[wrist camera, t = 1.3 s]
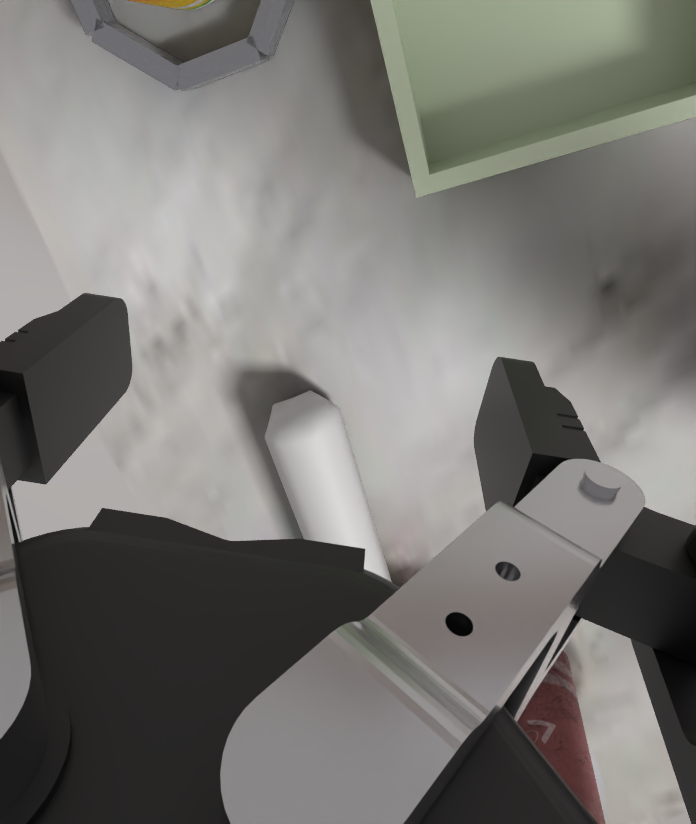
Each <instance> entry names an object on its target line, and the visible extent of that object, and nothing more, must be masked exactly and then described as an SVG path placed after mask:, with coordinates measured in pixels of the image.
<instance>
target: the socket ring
mask: <svg viewBox="0 0 696 824" xmlns="http://www.w3.org/2000/svg"><path fill="white" fill-rule="evenodd" d="M71 2H72V5H73V7H74V9H75V11H76V14H77V16H78V18H79V20H80V22H81V25H82V27H83V29H84V31H85V34H86V35H93V37H92V42H94V43H95V44H97V45H99V46H100V47H102V48H104V49H106V50H107V51H109V52H111V53H112V54H114V55H116V56H117V57H119V58H121V59H123V60H124V61H126V62H128V63H129V64H131V65H133V66H134V67H136V68H138V69H140V70H141V71H143V72H145V73H146V74H148V75H150V76H151V77H153V78H155V79H157V80H158V81H160V82H162V83H163V84H165V85H167V86H168V87H170V88H172V89H174V90H180V89H181V91H185V90H192V89H195V88H198V87H200V86H203V85H206V84H208V83H211V82H213V81H216V80H219V79H221V78H224V77H227V76H229V75H232V74H234V73H237V72H240V71H242V70H245V69H247V68H250V67H253V66H255V65H258V64H260V63H263V62H266V61H268V60H269V59H268V56H267V55H274V53H275V51H276V48H277V45H278V43H279V40H280V37H281V35H282V32H283V29H284V27H285V24H286V21H287V19H288V16H289V13H290V11H291V8H292V5H293V3H294V0H261V1H260V4H259V7H258V10H257V13H256V16H255V19H254V22H253V24H252V27H251V30H250V33H249V36H248V37H247V38H245V39H242V40H240V41H237V42H235V43H232V44H230V45H227V46H225V47H222V48H220V49H217V50H215V51H212V52H210V53H207V54H205V55H202V56H200V57H197V58H195V59H192V60H190V61H187V62H185V63H183V62H182V61H180V60H178V59H177V58H175V57H173V56H172V55H170V54H168V53H167V52H165V51H163V50H162V49H160V48H158V47H157V46H155V45H153V44H152V43H150V42H148V41H147V40H145V39H143V38H142V37H140V36H138V35H137V34H135V33H133V32H132V31H130V30H128V29H126V28H125V27H123V26H121V25H120V24H118V23H117V22H116V19H115V17H114V15H113V12H112V10H111V8H110V5H109V3H108V1H107V0H71Z"/></svg>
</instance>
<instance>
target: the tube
mask: <svg viewBox="0 0 696 824" xmlns="http://www.w3.org/2000/svg"><path fill="white" fill-rule="evenodd" d="M264 438H265V441H266V443H267V446H268V448H269V451H270V454H271V456H272V459H273V461H274V464H275V466H276V469H277V472H278V474H279V477H280V479H281V482H282V484H283V487H284V490H285V492H286V495H287V497H288V500H289V502H290V505H291V508H292V510H293V513H294V515H295V518H296V520H297V523H298V526H299V528H300V531H301V533H302V536H303V538H304V539H305V540H312V541H318V542H325V543H331V544H338V545H344V546H351V547H357V548H363V549H365V561H364V569H365V570H368V571H371V572H373V573H375V574H377V575H379V576H381V577H383V578H385V579H387V580H389V581H390V582H392V581H391V578H390V574H389V571H388V568H387V564H386V561H385V558H384V554H383V551H382V548H381V544H380V541H379V538H378V534H377V531H376V528H375V524H374V521H373V518H372V514H371V511H370V508H369V504H368V501H367V498H366V494H365V491H364V488H363V484H362V481H361V478H360V474H359V471H358V468H357V464H356V461H355V458H354V454H353V451H352V448H351V444H350V441H349V438H348V434H347V431H346V428H345V424H344V421H343V418H342V415H341V411H340V408H339V407H337V406H336V405H334V404H333V403H331V402H330V401H328V400H327V399H325V398H323V397H322V396H320V395H318V394H316V393H314V392H313V391H311V390H310V391H307V392H305V393H302V394H300V395H297V396H295V397H293V398H290V399H287V400H284V401H281V402H279V403H276V404H273V407H272V411H271V416H270V420H269V424H268V427H267V430H266V433H265V437H264Z"/></svg>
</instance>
